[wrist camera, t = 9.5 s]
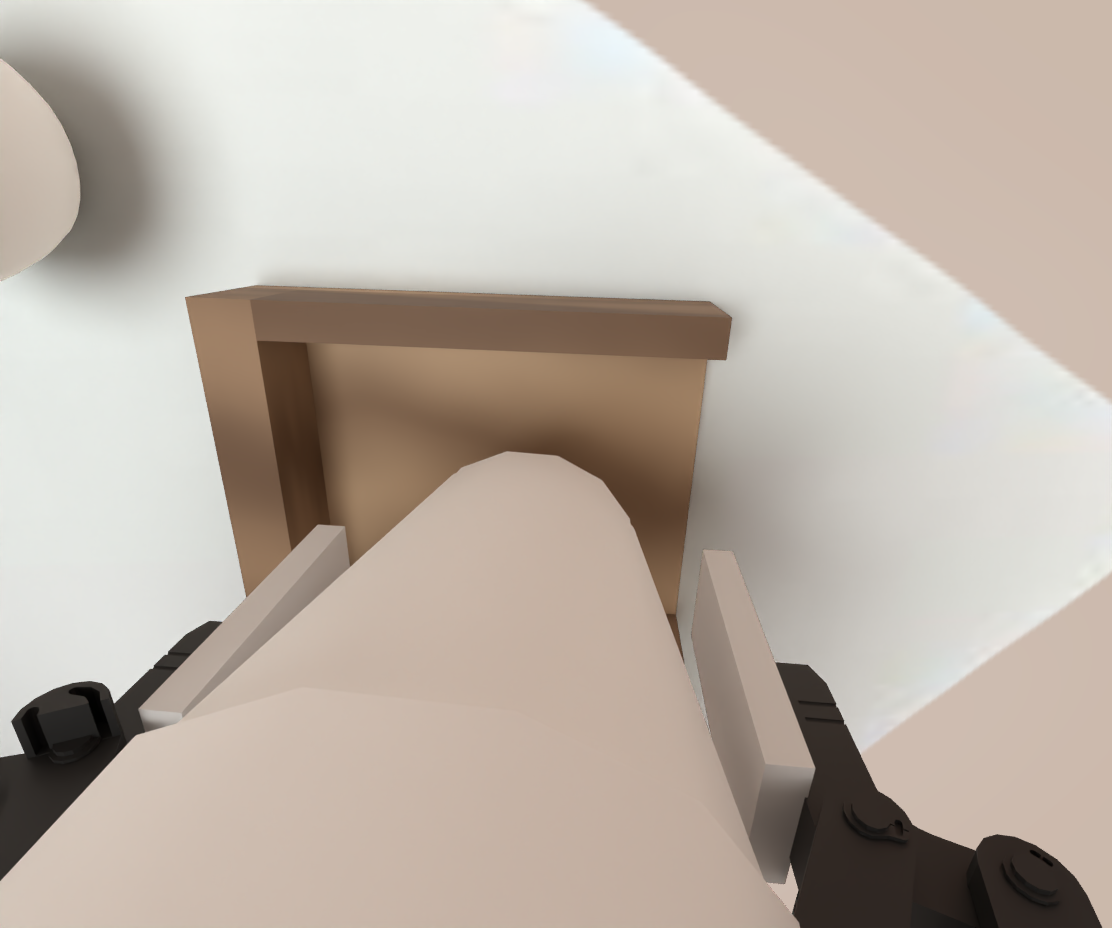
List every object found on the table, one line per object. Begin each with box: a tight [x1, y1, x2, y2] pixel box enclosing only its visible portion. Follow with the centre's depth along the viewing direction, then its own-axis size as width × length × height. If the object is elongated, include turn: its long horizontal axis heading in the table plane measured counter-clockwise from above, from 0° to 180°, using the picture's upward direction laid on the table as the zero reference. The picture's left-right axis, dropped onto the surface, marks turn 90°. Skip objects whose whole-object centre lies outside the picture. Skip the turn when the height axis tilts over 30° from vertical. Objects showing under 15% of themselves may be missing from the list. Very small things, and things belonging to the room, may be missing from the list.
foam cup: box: [0, 451, 800, 928], centre depth 11 cm, size 10×9×13 cm
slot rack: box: [185, 285, 732, 665], centre depth 24 cm, size 26×16×4 cm, turn 179°
